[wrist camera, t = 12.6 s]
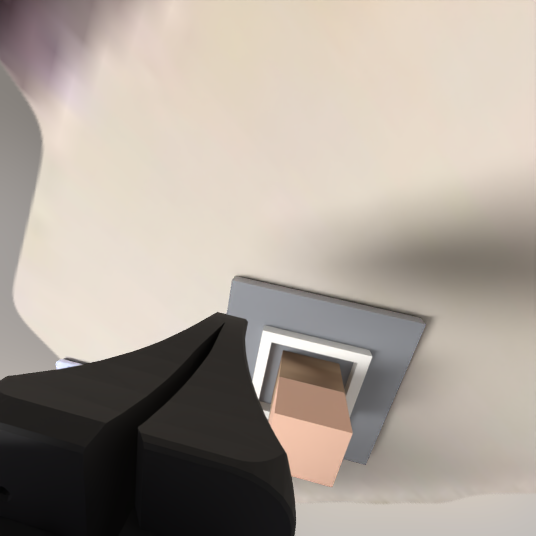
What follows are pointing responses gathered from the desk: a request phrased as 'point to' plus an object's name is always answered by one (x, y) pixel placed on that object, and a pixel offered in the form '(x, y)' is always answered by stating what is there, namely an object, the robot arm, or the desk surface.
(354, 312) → the base plate
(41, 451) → the robot arm
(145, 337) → the desk surface
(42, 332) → the desk surface
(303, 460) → the brick stack
